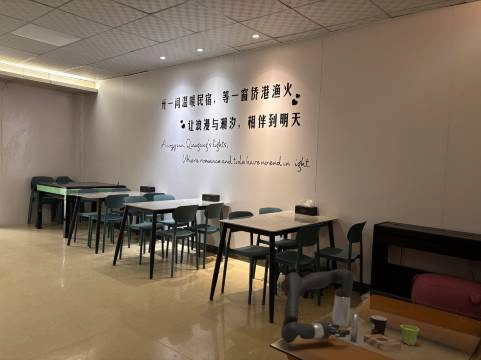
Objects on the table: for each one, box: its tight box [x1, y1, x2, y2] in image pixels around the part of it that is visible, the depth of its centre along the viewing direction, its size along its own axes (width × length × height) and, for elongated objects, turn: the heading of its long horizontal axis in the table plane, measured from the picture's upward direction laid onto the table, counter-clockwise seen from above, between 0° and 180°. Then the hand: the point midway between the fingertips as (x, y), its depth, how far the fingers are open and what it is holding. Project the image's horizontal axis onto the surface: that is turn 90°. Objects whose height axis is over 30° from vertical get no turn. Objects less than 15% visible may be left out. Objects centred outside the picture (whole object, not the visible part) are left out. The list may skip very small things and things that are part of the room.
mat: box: [338, 335, 371, 347], centre depth 202 cm, size 14×10×1 cm
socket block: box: [363, 334, 402, 352], centre depth 198 cm, size 14×12×4 cm
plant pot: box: [400, 324, 420, 346], centre depth 207 cm, size 9×9×9 cm
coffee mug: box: [369, 315, 388, 336], centre depth 217 cm, size 12×9×10 cm
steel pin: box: [350, 313, 359, 342], centre depth 201 cm, size 3×3×14 cm
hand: (344, 329), depth 197 cm, fingers open, 8 cm apart
